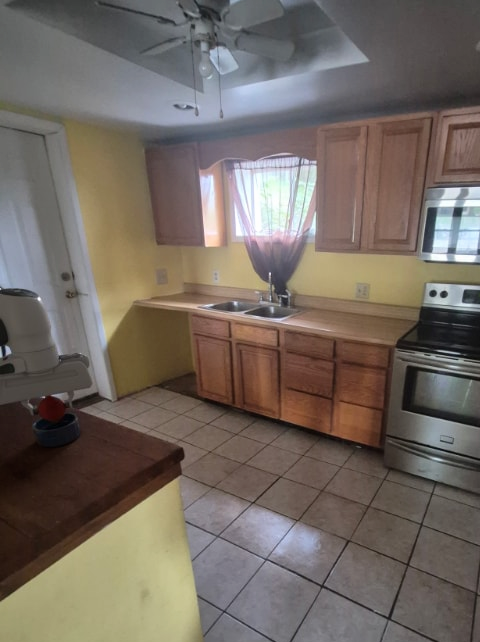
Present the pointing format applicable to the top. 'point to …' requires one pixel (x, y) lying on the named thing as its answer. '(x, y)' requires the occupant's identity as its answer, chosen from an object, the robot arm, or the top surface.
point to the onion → (51, 409)
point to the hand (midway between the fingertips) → (52, 410)
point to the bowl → (57, 431)
